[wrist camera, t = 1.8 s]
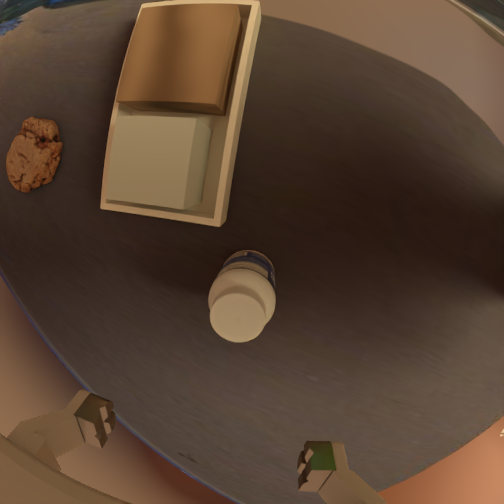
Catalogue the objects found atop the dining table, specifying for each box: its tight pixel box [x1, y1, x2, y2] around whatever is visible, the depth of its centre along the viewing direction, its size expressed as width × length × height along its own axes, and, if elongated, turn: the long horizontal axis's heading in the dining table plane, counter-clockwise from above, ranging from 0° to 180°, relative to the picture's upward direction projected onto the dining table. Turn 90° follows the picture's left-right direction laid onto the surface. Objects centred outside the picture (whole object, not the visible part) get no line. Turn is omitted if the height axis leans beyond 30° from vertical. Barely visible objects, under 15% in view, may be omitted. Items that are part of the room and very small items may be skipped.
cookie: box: [6, 117, 63, 193], centre depth 27 cm, size 10×11×3 cm
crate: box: [100, 0, 261, 227], centre depth 24 cm, size 12×22×4 cm, turn 171°
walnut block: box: [116, 3, 243, 116], centre depth 22 cm, size 9×10×5 cm
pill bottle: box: [208, 250, 276, 342], centre depth 25 cm, size 5×5×10 cm
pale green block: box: [106, 116, 213, 209], centre depth 24 cm, size 7×7×6 cm
